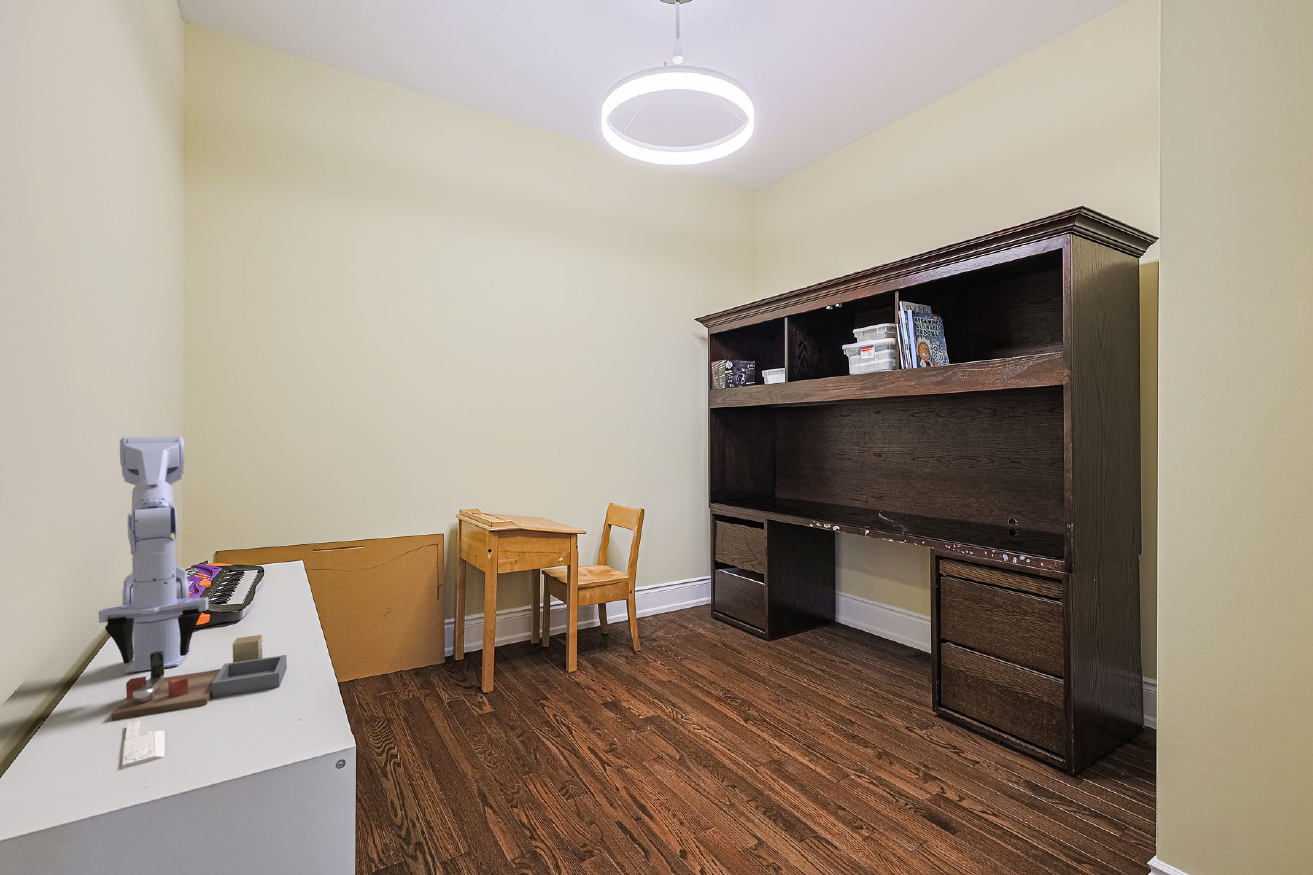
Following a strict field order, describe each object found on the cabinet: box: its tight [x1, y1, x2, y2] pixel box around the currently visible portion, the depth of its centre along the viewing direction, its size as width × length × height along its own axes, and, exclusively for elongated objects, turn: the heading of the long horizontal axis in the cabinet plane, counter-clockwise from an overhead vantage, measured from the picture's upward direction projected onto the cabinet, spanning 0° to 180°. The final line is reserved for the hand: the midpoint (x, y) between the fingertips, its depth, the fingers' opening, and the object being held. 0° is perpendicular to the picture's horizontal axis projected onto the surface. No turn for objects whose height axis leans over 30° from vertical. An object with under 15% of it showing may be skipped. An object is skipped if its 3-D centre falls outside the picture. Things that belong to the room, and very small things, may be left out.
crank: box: [133, 651, 165, 703], centre depth 102 cm, size 9×3×5 cm, turn 25°
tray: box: [211, 654, 288, 699], centre depth 109 cm, size 10×10×2 cm
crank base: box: [111, 668, 221, 721], centre depth 104 cm, size 14×12×4 cm
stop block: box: [232, 634, 263, 663], centre depth 116 cm, size 4×4×5 cm
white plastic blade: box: [121, 720, 166, 769], centre depth 88 cm, size 5×15×1 cm, turn 38°
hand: (156, 657), depth 105 cm, fingers open, 7 cm apart
